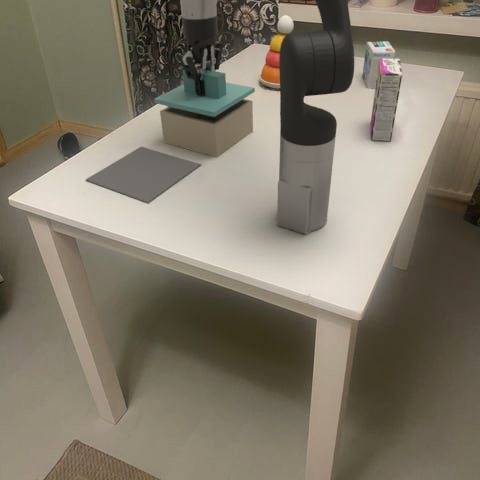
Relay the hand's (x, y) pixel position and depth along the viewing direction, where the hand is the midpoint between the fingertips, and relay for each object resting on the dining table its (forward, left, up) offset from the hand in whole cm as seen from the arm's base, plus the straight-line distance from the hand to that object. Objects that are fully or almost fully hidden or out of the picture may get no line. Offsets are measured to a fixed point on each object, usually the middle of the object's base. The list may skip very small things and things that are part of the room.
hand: (205, 92), depth 111 cm
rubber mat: (-22, +2, -11) cm, 25 cm away
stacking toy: (+42, +2, -12) cm, 44 cm away
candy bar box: (+23, -36, -12) cm, 44 cm away
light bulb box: (+56, -23, -12) cm, 62 cm away
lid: (0, 0, -1) cm, 1 cm away
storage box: (0, 0, -11) cm, 11 cm away
